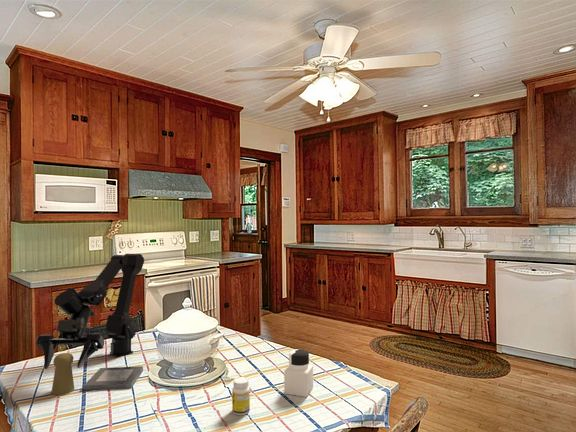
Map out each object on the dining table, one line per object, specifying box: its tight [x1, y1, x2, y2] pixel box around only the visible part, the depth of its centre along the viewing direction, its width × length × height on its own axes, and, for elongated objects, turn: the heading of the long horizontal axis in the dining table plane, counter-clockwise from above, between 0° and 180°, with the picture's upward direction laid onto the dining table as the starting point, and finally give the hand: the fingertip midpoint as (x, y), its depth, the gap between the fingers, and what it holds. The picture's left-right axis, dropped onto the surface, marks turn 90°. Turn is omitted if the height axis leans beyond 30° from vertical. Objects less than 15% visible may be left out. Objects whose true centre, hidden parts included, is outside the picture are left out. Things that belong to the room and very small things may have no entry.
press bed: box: [83, 365, 144, 392], centre depth 122 cm, size 14×14×2 cm
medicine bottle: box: [283, 348, 314, 398], centre depth 115 cm, size 7×7×12 cm
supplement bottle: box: [231, 376, 251, 416], centre depth 102 cm, size 5×5×8 cm
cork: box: [50, 352, 75, 396], centre depth 114 cm, size 6×6×11 cm
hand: (61, 368), depth 113 cm, fingers open, 9 cm apart
